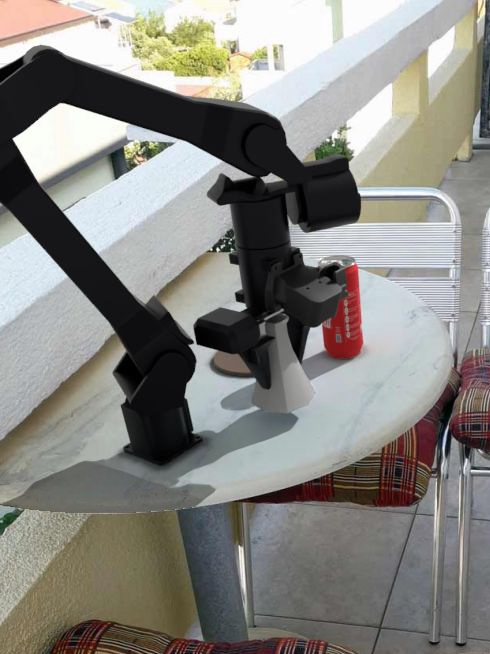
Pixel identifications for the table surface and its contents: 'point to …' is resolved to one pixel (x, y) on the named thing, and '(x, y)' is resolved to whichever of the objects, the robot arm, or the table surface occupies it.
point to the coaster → (231, 364)
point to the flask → (282, 373)
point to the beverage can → (344, 314)
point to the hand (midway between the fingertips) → (281, 379)
